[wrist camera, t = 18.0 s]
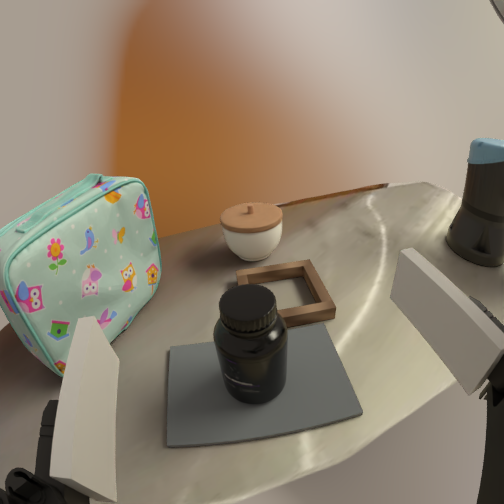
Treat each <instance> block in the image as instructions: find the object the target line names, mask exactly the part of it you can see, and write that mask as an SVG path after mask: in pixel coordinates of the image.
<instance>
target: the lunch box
mask: <svg viewBox="0 0 504 504" xmlns="http://www.w3.org/2000/svg"><path fill="white" fill-rule="evenodd" d="M161 264H162V263H161V255H160V249H159V243H158V238H157V233H156V228H155V223H154V217H153V212H152V208H151V203H150V198H149V194H148V191H147V188H146V187H145V185H144V183H143V182H142V181H141V180H139V179H138V178H131V177H107V176H103V175H101V174H89V175H88V176H87V177H86V178H85V179H83V180H81V181H80V182H78V183H76V184H74V185H73V186H71V187H69V188H68V189H66V190H64V191H63V192H61V193H60V194H58V195H57V196H54V197H53V198H51V199H50V200H48V201H46V202H44V203H43V204H41V205H39V206H38V207H36V208H35V209H33V210H31V211H29V212H28V213H26V214H25V215H23V216H21V217H19V218H17V219H16V220H14V221H12V222H10V223H9V224H7V225H6V226H4V227H3V228H1V229H0V306H1V308H2V310H3V312H4V313H5V315H6V317H7V319H8V321H9V322H10V324H11V326H12V327H13V329H14V331H15V332H16V334H17V335H18V337H19V338H20V340H21V341H22V343H23V344H24V345H25V347H26V348H27V349H28V350H29V351H30V352H31V353H32V354H33V355H34V356H35V357H36V358H38V359H39V360H40V361H41V362H42V363H43V364H44V365H46V366H47V367H48V368H50V369H51V370H52V371H53V372H54V373H56V374H57V375H59V376H60V377H63V376H64V372H65V367H66V363H67V359H68V355H69V351H70V347H71V343H72V339H73V335H74V332H75V328H76V325H77V321H78V318H84V317H90V316H95V318H96V320H97V322H98V323H99V325H100V327H101V329H102V331H103V333H104V335H105V336H106V338H107V340H108V342H109V343H111V342H112V341H113V340H114V339H115V338H116V337H117V336H118V335H119V334H120V333H121V332H122V331H123V330H124V329H125V330H126V329H127V327H128V326H129V325H130V324H131V322H132V320H133V319H134V317H135V316H136V315H137V313H138V312H139V311H140V310H141V309H142V308H143V307H144V305H145V304H146V303H147V302H148V301H149V300H150V299H151V298H152V296H153V295H154V293H155V291H156V289H157V287H158V284H159V281H160V277H161Z"/></svg>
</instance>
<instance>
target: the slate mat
mask: <svg viewBox="0 0 504 504" xmlns="http://www.w3.org/2000/svg"><path fill="white" fill-rule="evenodd" d="M362 413H363V410H362V408H361V406H360V403H359V401H358V399H357V396H356V394H355V392H354V390H353V387H352V385H351V383H350V380H349V378H348V376H347V374H346V371H345V369H344V367H343V365H342V362H341V360H340V358H339V356H338V353H337V351H336V349H335V347H334V345H333V342H332V340H331V338H330V336H329V334H328V331H327V329H326V327H325V325H324V323H321V324H316V325H311V326H306V327H301V328H296V329H290V330H288V349H287V375H286V383H285V386H284V388H283V390H282V392H281V393H280V394H279V395H278V396H277V397H276V398H274V399H273V400H271V401H269V402H266V403H263V404H246V403H242V402H240V401H238V400H236V399H235V398H233V397H232V396H231V395H230V394H229V392H228V391H227V389H226V387H225V384H224V380H223V376H222V372H221V368H220V364H219V360H218V356H217V352H216V347H215V343H214V342H207V343H199V344H190V345H181V346H172V347H170V360H169V379H168V405H167V446H168V447H192V446H206V445H217V444H227V443H235V442H243V441H250V440H257V439H263V438H269V437H274V436H280V435H285V434H290V433H295V432H299V431H304V430H308V429H312V428H316V427H320V426H324V425H328V424H332V423H336V422H339V421H343V420H346V419H349V418H353V417H356V416H359V415H362Z"/></svg>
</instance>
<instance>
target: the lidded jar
mask: <svg viewBox="0 0 504 504" xmlns="http://www.w3.org/2000/svg"><path fill="white" fill-rule="evenodd" d="M220 222H221V225H222V230H223V235H224V239H225V241H226V243H227V245H228V247H229V248H230V249H231V251H232V252H233V253H235V254H236V255H238V256H239V257H240V258H241V259H243V260H246V261H259V260H263V259H265V258H267V257H268V256H269V255H270V254H271V252H273V251H274V250H275V248H276V247H277V245H278V243H279V241H280V238H281V233H282V211H281V209H280V208H278V207H277V206H275V205H272V204H268V203H260V202H252V203H244V204H240V205H236V206H233V207H230V208H228V209H227V210H225V211H224V212H223V213H222V214H221V217H220Z"/></svg>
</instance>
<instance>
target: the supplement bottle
mask: <svg viewBox="0 0 504 504" xmlns="http://www.w3.org/2000/svg"><path fill="white" fill-rule="evenodd" d="M219 310H220V318H219V320H218V321H217V323H216V325H215V328H214V333H213V336H214V343H215V347H216V352H217V356H218V360H219V364H220V368H221V372H222V376H223V380H224V384H225V387H226V389H227V391H228V392H229V394H230V395H231V396H232V397H233V398H235V399H236V400H238V401H240V402H242V403H246V404H263V403H266V402H269V401H271V400H273V399H274V398H276V397H277V396H278V395H279V394H280V393H281V392H282V390H283V388H284V386H285V383H286V375H287V349H288V329H287V325H286V322H285V320H284V319H283V317H282V316H281V315H280V314H279V313H278V312H277V308H276V299H275V296H274V295H273V293H272V292H271V291H270V290H269V289H267V288H266V287H263V286H260V285H255V284H242V285H238V286H236V287H232V288H231V289H229V290H228V291H226V292H225V293H224V294H223V295H222V297H221V298H220V302H219Z"/></svg>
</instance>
